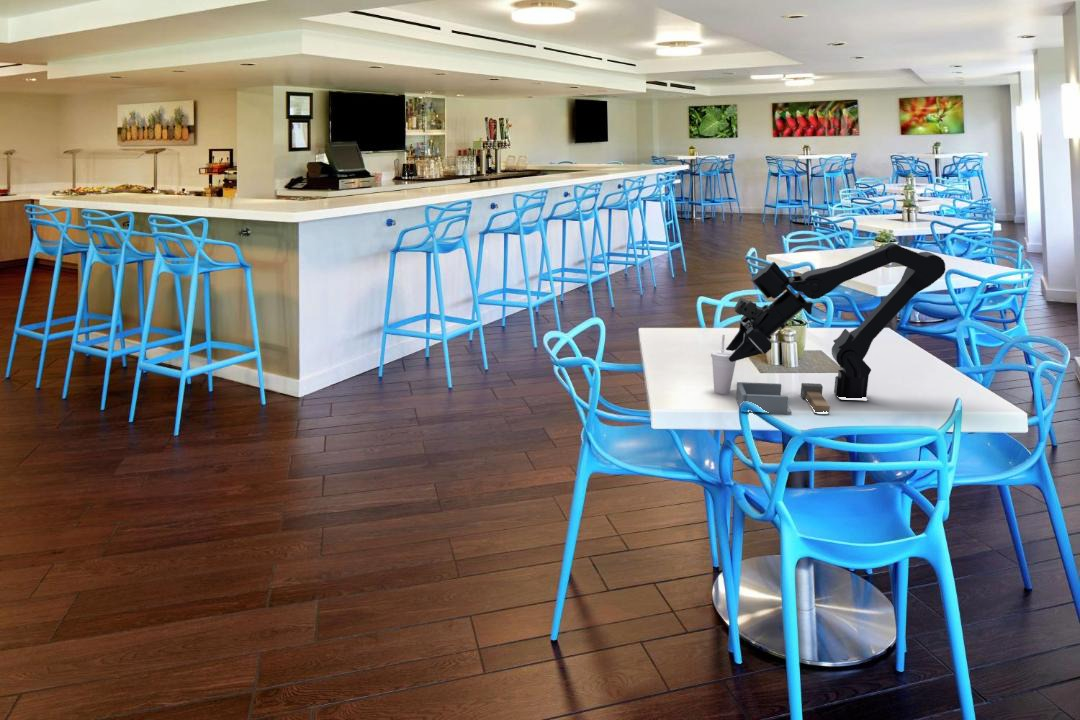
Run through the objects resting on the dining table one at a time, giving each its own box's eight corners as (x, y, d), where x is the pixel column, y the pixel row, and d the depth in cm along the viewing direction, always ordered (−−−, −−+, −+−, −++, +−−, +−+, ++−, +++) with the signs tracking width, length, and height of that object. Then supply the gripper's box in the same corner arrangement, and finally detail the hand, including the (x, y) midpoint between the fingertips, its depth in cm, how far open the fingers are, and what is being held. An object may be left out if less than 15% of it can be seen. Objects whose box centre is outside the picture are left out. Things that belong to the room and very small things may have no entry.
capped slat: (800, 395, 203) (801, 383, 202) (819, 396, 202) (820, 383, 201) (811, 414, 189) (813, 400, 189) (832, 415, 189) (833, 401, 188)
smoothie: (716, 386, 210) (719, 331, 206) (740, 391, 206) (744, 334, 203) (703, 392, 205) (707, 335, 202) (728, 397, 201) (731, 339, 198)
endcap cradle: (783, 400, 199) (785, 383, 198) (791, 414, 189) (792, 397, 188) (736, 398, 200) (737, 382, 199) (741, 412, 190) (742, 395, 189)
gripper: (753, 280, 207) (704, 323, 211) (761, 294, 189) (707, 340, 194) (783, 313, 208) (734, 355, 212) (794, 330, 190) (740, 375, 195)
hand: (728, 355), depth 203 cm, fingers open, 9 cm apart
